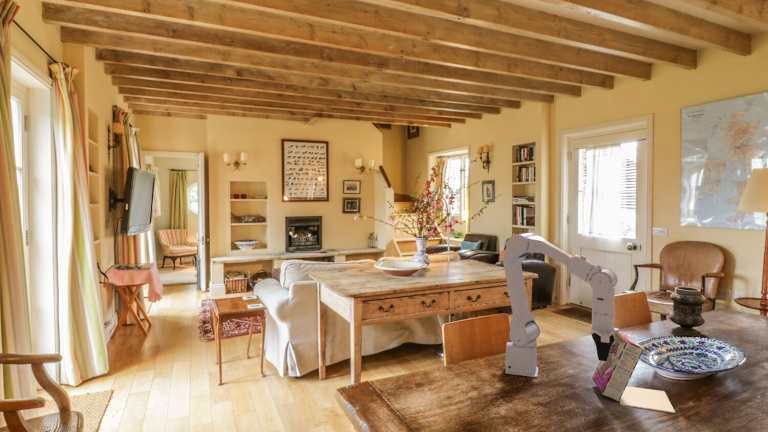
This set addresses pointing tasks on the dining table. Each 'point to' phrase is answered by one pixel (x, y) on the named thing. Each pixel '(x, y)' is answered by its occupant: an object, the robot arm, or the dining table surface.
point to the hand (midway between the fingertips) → (602, 360)
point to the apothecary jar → (687, 310)
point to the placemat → (646, 399)
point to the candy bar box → (618, 366)
